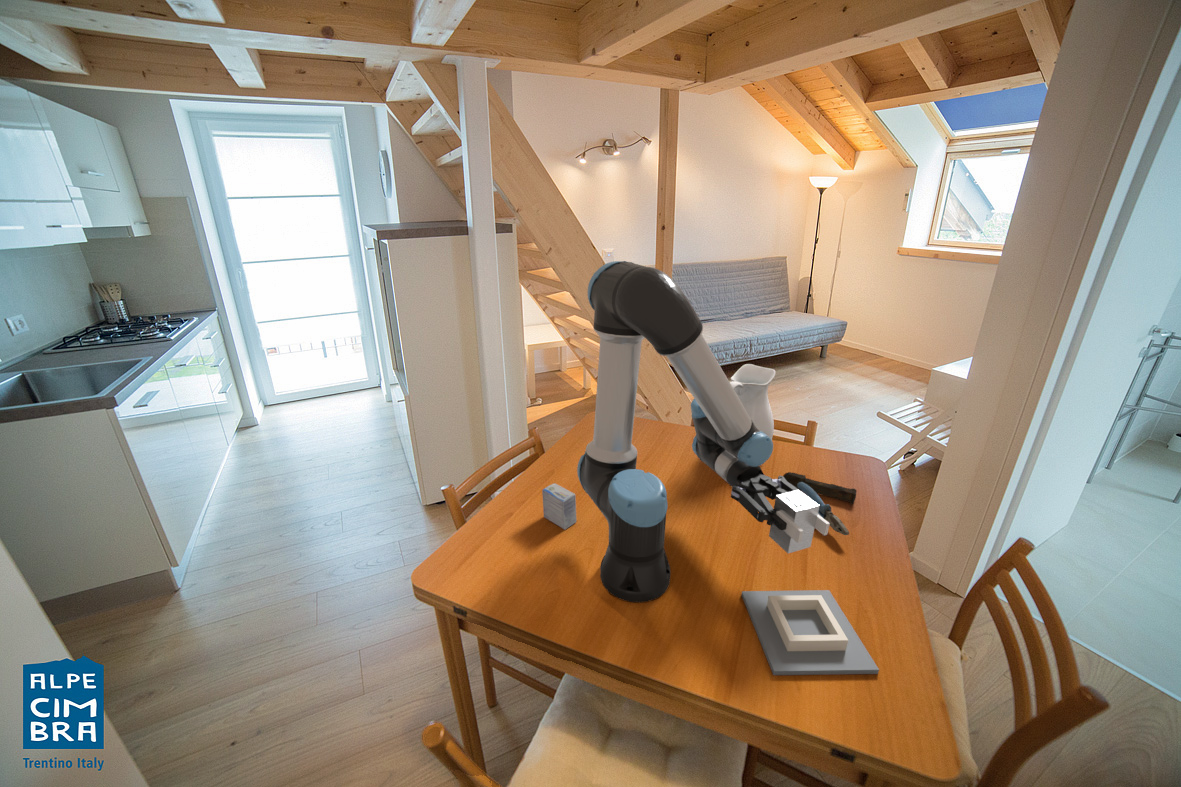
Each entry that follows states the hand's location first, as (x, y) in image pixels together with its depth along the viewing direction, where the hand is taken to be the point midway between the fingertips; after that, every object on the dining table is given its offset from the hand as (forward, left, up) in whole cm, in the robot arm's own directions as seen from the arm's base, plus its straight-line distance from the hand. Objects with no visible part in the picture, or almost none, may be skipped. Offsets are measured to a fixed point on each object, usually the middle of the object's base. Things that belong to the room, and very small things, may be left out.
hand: (813, 533), depth 90 cm
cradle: (-5, -5, -17) cm, 19 cm away
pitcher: (+34, +49, -17) cm, 62 cm away
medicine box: (-29, +49, -17) cm, 60 cm away
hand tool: (+37, +23, -18) cm, 47 cm away
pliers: (+27, +15, -17) cm, 36 cm away
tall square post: (+1, +5, -6) cm, 8 cm away
